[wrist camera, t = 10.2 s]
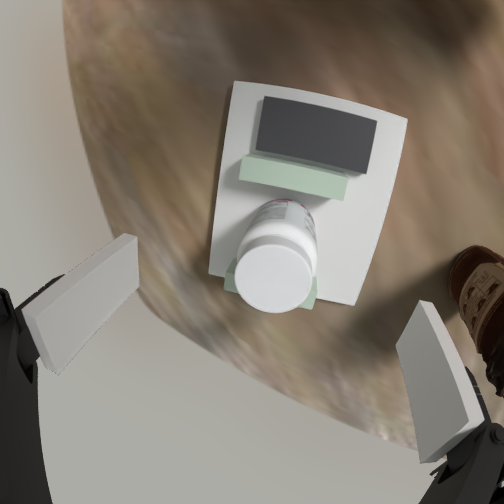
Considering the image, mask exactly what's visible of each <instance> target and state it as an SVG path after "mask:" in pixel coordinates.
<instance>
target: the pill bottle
mask: <svg viewBox="0 0 504 504" xmlns="http://www.w3.org/2000/svg"><path fill="white" fill-rule="evenodd" d="M317 265H318V250H317V240H316V231H315V224H314V220H313V217H312V215H311V214H310V212H309V211H308V209H307V208H306V207H305V206H303V205H302V204H301V203H299V202H297V201H295V200H291V199H285V198H281V199H275V200H271V201H269V202H267V203H266V204H264V205H263V206H262V207H261V208H260V209H259V210H258V212H257V213H256V214H255V216H254V218H253V219H252V221H251V223H250V225H249V227H248V228H247V230H246V232H245V234H244V235H243V237H242V239H241V241H240V244H239V247H238V251H237V265H236V268H235V274H234V279H235V285H236V288H237V290H238V292H239V294H240V295H241V297H242V298H243V299H244V300H245V301H246V302H247V303H248V304H249V305H251V306H252V307H254V308H256V309H258V310H261V311H264V312H269V313H281V312H286V311H289V310H292V309H294V308H296V307H297V306H299V305H300V304H301V303H302V302H303V301H304V300H305V299H306V298H307V296H308V294H309V292H310V290H311V286H312V278H313V277H314V275H315V272H316V269H317Z"/></svg>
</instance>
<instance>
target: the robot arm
mask: <svg viewBox="0 0 504 504" xmlns="http://www.w3.org/2000/svg"><path fill="white" fill-rule="evenodd" d="M138 287H139V270H138V243H137V236H134V235H130V234H126V233H124V234H122V235H121V236H119V237H118V238H116V239H115V240H113V241H112V242H110V243H109V244H107V245H106V246H105V247H103V248H102V249H100V250H99V251H97V252H96V253H94V254H93V255H92V256H90V257H89V258H87V259H86V260H85V261H83V262H82V263H80V264H79V265H78V266H76V267H75V268H74V269H72V270H71V271H69V272H68V273H67V274H63V275H61V276H58V277H56V278H54V279H52V280H51V281H50V282H48V283H47V284H46V285H45V287H44V286H43V287H42V288H41V289H40V290H38V292H36V293H34V294H33V295H31V297H29V298H28V299H27V300H25V301H24V302H23V303H22V304H20V305H19V306H18V307H17V308H15V309H14V307H13V304H12V302H11V299H10V296H9V293H8V291H7V290H5V289H3V288H0V504H53V503H52V499H51V495H50V491H49V487H48V482H47V477H46V472H45V466H44V460H43V453H42V446H41V437H40V427H39V414H38V387H37V386H38V381H37V380H38V367H37V362H36V360H37V359H38V358H39V357H41V359H42V362H43V364H44V366H45V367H46V368H48V369H49V370H51V371H52V372H54V373H55V374H57V375H59V374H60V373H61V372H62V370H63V369H64V368H65V367H66V366H67V365H68V364H69V362H70V361H71V360H72V359H73V358H74V357H75V355H76V354H77V353H78V352H79V351H80V350H81V349H82V347H83V346H84V345H85V344H86V343H87V342H88V341H89V340H90V339H91V337H92V336H93V335H94V334H95V333H96V332H97V331H98V330H99V329H100V327H101V326H102V325H103V324H104V323H105V322H106V321H107V320H108V319H109V318H110V317H111V316H112V314H113V313H114V312H115V311H116V310H117V309H118V308H119V307H120V306H121V305H122V304H123V303H124V302H125V301H126V299H128V298H129V296H130V295H131V294H132V293H133V292H134V291H135V290H136V289H137V288H138ZM395 346H396V349H397V353H398V357H399V360H400V364H401V368H402V372H403V376H404V380H405V384H406V389H407V393H408V397H409V402H410V407H411V412H412V417H413V422H414V427H415V433H416V439H417V445H418V452H419V458H420V463H421V464H422V463H430V462H437V461H438V460H439V459H440V458H442V457H443V456H444V455H447V461H446V462H444V463H443V464H442V465H440V466H439V467H438V468H436V469H435V470H434V471H432V472H431V473H430V475H431V476H432V475H433V474H435V473H436V472H438V471H439V472H438V473H437V475H436V476H435V477H434V478H435V479H434V480H433V482H432V484H431V485H430V487H429V489H428V490H427V492H426V493H425V495H424V496H423V498H422V499H421V501H420V502H419V504H504V487H501V484H502V481H504V428H503V427H502V426H501V425H500V424H498V423H492V422H491V419H490V417H489V414H488V411H487V408H486V405H485V403H484V400H483V398H482V395H480V390H479V388H478V387H477V383H476V380H475V378H474V376H473V374H472V373H471V372H470V371H469V369H468V368H467V367H465V366H464V365H463V363H462V361H461V358H460V356H459V354H458V352H457V350H456V348H455V346H454V343H453V341H452V339H451V337H450V335H449V333H448V331H447V329H446V327H445V325H444V323H443V322H442V320H441V318H440V316H439V314H438V312H437V310H436V308H435V307H434V305H433V303H431V302H426V301H422V300H419V302H418V304H417V306H416V308H415V310H414V312H413V314H412V316H411V318H410V320H409V322H408V324H407V325H406V327H405V329H404V331H403V333H402V335H401V336H400V338H399V340H398V342H397V343H396V345H395Z"/></svg>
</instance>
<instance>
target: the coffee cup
mask: <svg viewBox="0 0 504 504" xmlns="http://www.w3.org/2000/svg"><path fill="white" fill-rule="evenodd" d="M448 289H449V292H450V296H451V298H452V299H453V300H454V301H455V302H456V304H457V305H459V312H460V317H461V319H462V320H463V321H464V322H465V324H466V326H467V328H468V330H469V334H470V335H471V338H472V339H473V341H474V343H475V346H476V350H477V353H479V354H482V357H483V361H485V363H486V364H487V368H486V377H487V379H488V381H489V382H490V383H492V384H493V385H494V386H495V387H496V390H497V392H496V395H498V396H500V397H503V398H504V258H503V257H502V256H501V255H499V254H497V253H494V252H493V251H491V250H490V249H488V248H486V247H484V246H479V245H475V246H473V247H471V248H469V249H467V250H466V251H464V252H463V253H462V254H461V255H460V256H459V257H458V259H457V260H456V262H455V263H454V265H453V267H452V269H451V271H450V275H449V281H448Z"/></svg>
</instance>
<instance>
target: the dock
mask: <svg viewBox="0 0 504 504" xmlns="http://www.w3.org/2000/svg"><path fill="white" fill-rule="evenodd" d="M407 120H408V119H406V118H403V117H400V116H397V115H395V114H392V113H389V112H386V111H382V110H379V109H376V108H373V107H369V106H366V105H363V104H359V103H355V102H352V101H348V100H344V99H340V98H336V97H332V96H327V95H323V94H318V93H314V92H309V91H304V90H298V89H293V88H287V87H281V86H274V85H267V84H259V83H251V82H242V81H234V85H233V91H232V97H231V103H230V109H229V115H228V122H227V128H226V135H225V141H224V148H223V155H222V162H221V170H220V177H219V184H218V192H217V200H216V208H215V217H214V225H213V234H212V243H211V252H210V262H209V272H208V274H211V275H215V276H220V277H224V278H225V282H224V289H223V290H226V291H230V292H235V293H239V292H238V290H237V288H236V285H235V279H234V274H235V268H236V265H237V251H238V247H239V244H240V241H241V239H242V237H243V235H244V234H245V232H246V230H247V228H248V227H249V225H250V223H251V221H252V219H253V218H254V216H255V214H256V213H257V212H258V210H259V209H260V208H261V207H262V206H263V205H264V204H266V203H267V202H269V201H271V200H275V199H281V198H285V199H291V200H295V201H297V202H299V203H301V204H302V205H303V206H305V207H306V208H307V209H308V211H309V212H310V214H311V215H312V217H313V220H314V224H315V231H316V240H317V250H318V265H317V269H316V272H315V275H314V277H313V278H312V286H311V290H310V292H309V294H308V296H307V298H306V299H305V300H304V301H303V302H302V303H301V304H300V305H299V306H297V307H302V308H306V309H311V310H312V308H313V305H314V302H315V299H316V298H318V299H323V300H328V301H333V302H338V303H343V304H348V305H353V306H354V305H355V303H356V300H357V298H358V295H359V292H360V290H361V287H362V284H363V282H364V279H365V276H366V273H367V271H368V268H369V265H370V262H371V259H372V256H373V253H374V250H375V247H376V244H377V241H378V238H379V235H380V232H381V228H382V225H383V222H384V218H385V215H386V211H387V208H388V204H389V201H390V197H391V193H392V189H393V186H394V182H395V178H396V173H397V169H398V165H399V160H400V156H401V151H402V147H403V142H404V137H405V131H406V126H407Z"/></svg>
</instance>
